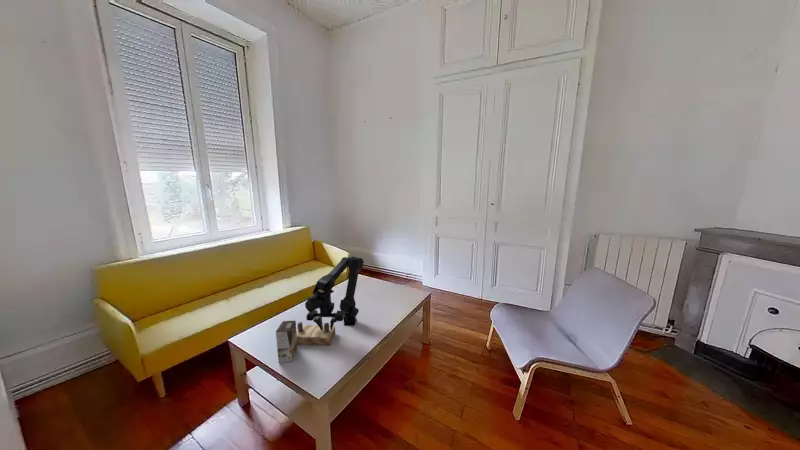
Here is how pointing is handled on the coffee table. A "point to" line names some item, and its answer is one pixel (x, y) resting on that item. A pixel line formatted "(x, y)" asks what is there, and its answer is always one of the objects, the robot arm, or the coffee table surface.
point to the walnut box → (316, 341)
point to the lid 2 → (322, 332)
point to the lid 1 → (305, 330)
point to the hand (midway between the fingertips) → (326, 330)
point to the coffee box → (286, 341)
